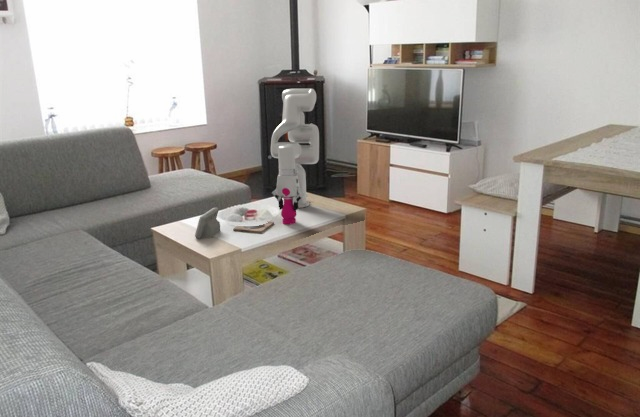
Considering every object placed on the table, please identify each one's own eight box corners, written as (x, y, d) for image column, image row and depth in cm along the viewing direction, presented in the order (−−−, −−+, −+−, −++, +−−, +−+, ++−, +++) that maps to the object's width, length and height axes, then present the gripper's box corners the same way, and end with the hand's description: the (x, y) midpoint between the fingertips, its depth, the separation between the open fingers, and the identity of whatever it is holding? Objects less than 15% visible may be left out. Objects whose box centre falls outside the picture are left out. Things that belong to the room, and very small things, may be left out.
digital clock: (211, 227, 249) (209, 205, 246) (227, 229, 245) (225, 207, 242) (189, 238, 235) (186, 215, 232) (205, 241, 231) (203, 217, 228)
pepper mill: (278, 223, 252) (276, 182, 246) (286, 219, 258) (284, 179, 253) (291, 225, 249) (290, 183, 243) (299, 221, 255) (298, 180, 249)
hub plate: (247, 221, 256) (247, 219, 256) (274, 224, 252) (273, 221, 251) (233, 230, 244) (233, 228, 243) (261, 233, 239) (261, 230, 239)
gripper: (307, 171, 247) (308, 208, 252) (273, 169, 253) (274, 205, 258) (301, 174, 241) (303, 213, 246) (266, 172, 246) (268, 210, 251)
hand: (288, 209), depth 252 cm, fingers open, 6 cm apart
